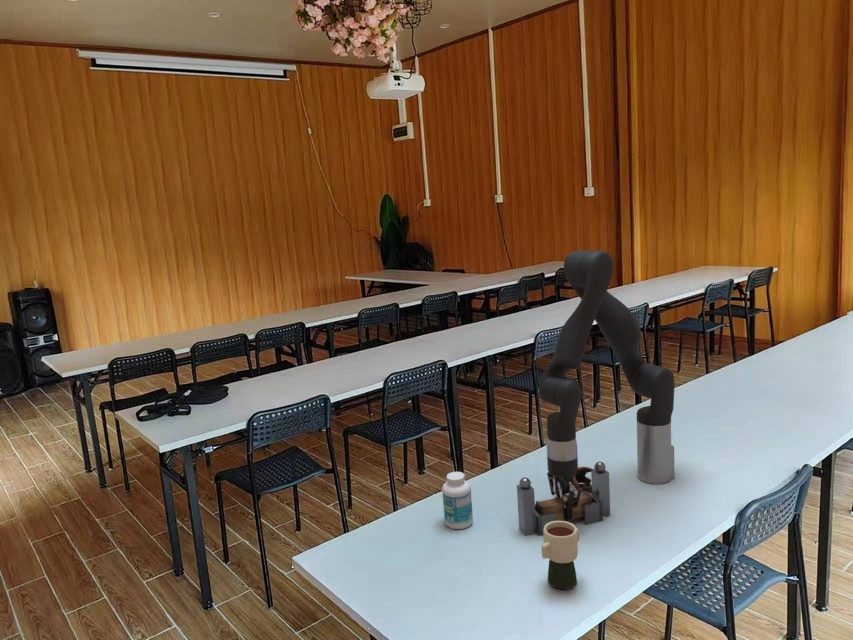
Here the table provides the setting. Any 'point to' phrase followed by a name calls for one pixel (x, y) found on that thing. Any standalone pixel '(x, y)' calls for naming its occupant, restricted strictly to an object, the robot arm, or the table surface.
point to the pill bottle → (457, 501)
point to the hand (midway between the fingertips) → (564, 516)
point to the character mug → (561, 553)
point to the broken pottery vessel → (582, 479)
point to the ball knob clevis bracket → (535, 522)
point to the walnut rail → (557, 506)
